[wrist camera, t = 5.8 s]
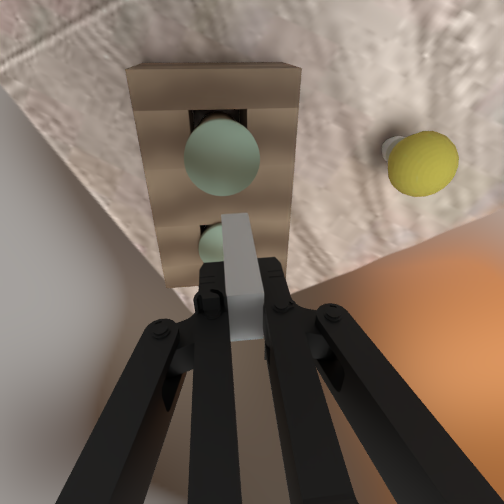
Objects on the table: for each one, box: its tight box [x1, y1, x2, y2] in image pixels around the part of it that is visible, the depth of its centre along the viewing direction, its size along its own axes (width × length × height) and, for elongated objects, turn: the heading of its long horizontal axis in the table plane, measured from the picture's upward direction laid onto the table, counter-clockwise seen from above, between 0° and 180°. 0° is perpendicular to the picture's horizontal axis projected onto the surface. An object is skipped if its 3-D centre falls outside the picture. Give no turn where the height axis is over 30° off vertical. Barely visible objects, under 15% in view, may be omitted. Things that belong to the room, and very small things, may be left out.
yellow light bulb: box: [382, 131, 459, 197], centre depth 35 cm, size 7×7×10 cm
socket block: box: [125, 62, 302, 288], centre depth 35 cm, size 22×14×8 cm, turn 0°
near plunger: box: [184, 111, 260, 196], centre depth 27 cm, size 6×6×8 cm
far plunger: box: [199, 223, 224, 263], centre depth 37 cm, size 6×6×8 cm
